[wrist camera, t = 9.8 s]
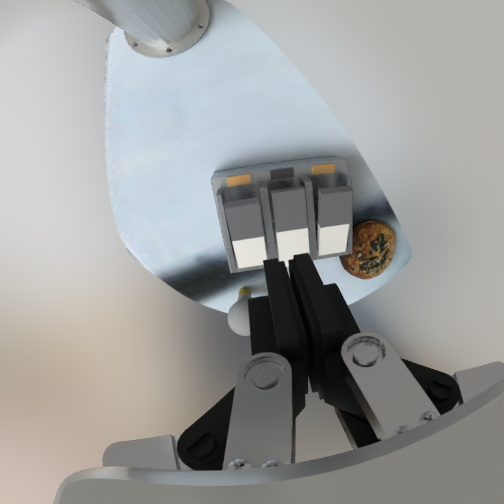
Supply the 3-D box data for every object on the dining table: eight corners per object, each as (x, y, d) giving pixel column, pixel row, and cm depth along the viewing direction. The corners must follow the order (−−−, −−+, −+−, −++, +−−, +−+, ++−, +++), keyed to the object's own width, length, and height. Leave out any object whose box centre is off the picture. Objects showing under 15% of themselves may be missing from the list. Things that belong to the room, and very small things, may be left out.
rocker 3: (318, 188, 31) (321, 194, 30) (349, 184, 31) (353, 190, 30) (316, 248, 38) (318, 255, 37) (342, 244, 38) (345, 251, 37)
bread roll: (328, 240, 44) (342, 253, 39) (378, 205, 43) (396, 214, 39) (349, 284, 49) (362, 299, 45) (393, 252, 48) (409, 264, 44)
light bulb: (247, 272, 46) (250, 310, 37) (266, 293, 48) (271, 332, 39) (222, 288, 47) (219, 327, 38) (241, 307, 49) (242, 347, 41)
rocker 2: (270, 190, 32) (271, 193, 31) (302, 185, 32) (304, 188, 31) (279, 262, 37) (280, 267, 36) (307, 258, 37) (310, 263, 35)
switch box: (214, 172, 38) (208, 183, 31) (335, 155, 38) (355, 164, 31) (231, 256, 45) (230, 282, 38) (338, 240, 44) (355, 262, 37)
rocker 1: (224, 201, 31) (224, 208, 30) (257, 196, 31) (259, 202, 30) (238, 261, 38) (238, 268, 37) (266, 256, 38) (267, 264, 37)
